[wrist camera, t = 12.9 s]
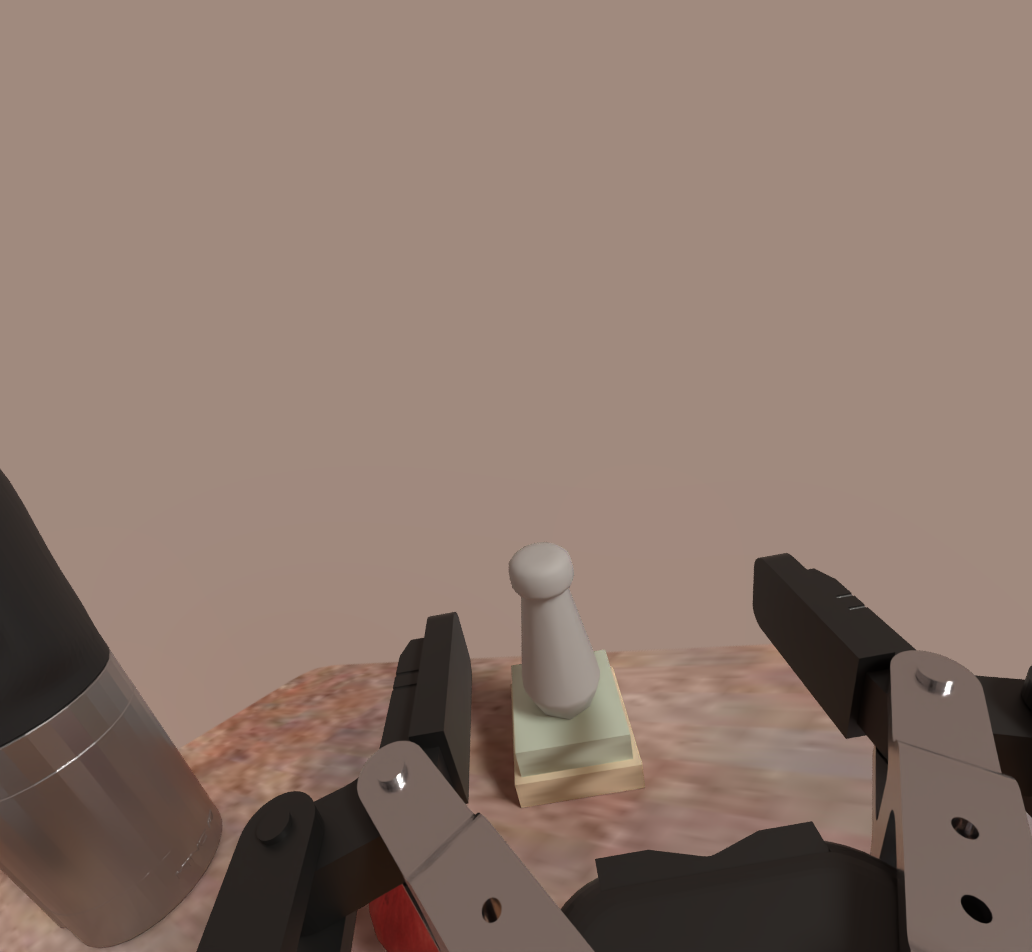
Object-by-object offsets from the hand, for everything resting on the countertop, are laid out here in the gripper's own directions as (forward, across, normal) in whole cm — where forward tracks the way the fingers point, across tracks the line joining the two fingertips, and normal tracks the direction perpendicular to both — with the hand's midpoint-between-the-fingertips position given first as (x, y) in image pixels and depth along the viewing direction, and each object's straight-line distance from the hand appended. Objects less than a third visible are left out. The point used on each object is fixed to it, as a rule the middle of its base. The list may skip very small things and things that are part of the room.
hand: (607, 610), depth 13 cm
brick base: (+16, +1, +27) cm, 31 cm away
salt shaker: (+16, +1, +22) cm, 27 cm away
